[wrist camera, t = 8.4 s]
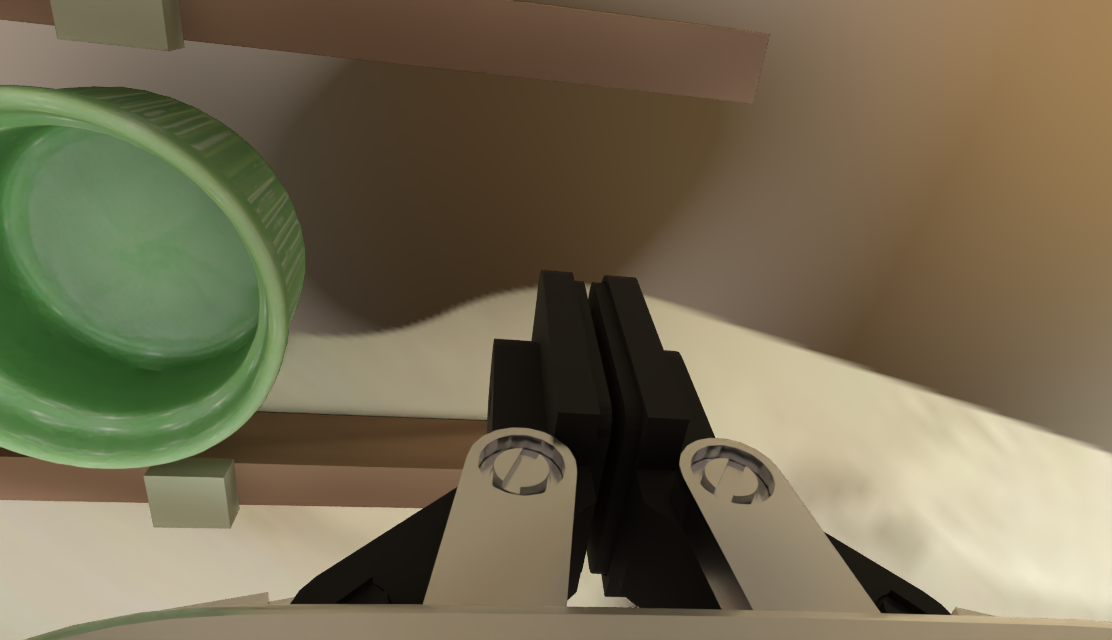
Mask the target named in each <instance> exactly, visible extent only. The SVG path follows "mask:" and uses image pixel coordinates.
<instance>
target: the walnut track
mask: <svg viewBox="0 0 1112 640" xmlns="http://www.w3.org/2000/svg"><path fill="white" fill-rule="evenodd" d="M0 19H1V20H10V21H20V22H28V23H37V24H46V25H54V26H55V28H56V33H57V38H58V39H64V40H73V41H83V42H91V43H100V44H109V45H118V46H127V47H137V48H146V49H155V50H165V51H171V50H175V49H180V48H184V40H189V41H198V42H206V43H215V44H224V45H233V46H242V47H252V48H260V49H269V50H279V51H287V52H297V53H305V54H314V55H323V56H332V57H341V58H350V59H359V60H367V61H378V62H385V63H395V64H403V65H412V66H421V67H431V68H440V69H448V70H457V71H466V72H475V73H484V74H493V75H502V76H512V77H520V78H528V79H538V80H546V81H555V82H565V83H573V84H582V85H591V86H601V87H610V88H618V89H627V90H636V91H645V92H654V93H663V94H672V95H680V96H689V97H700V98H708V99H716V100H725V101H734V102H743V103H752V104H753V103H754V99H755V95H756V91H757V87H758V83H759V78H760V74H761V70H762V65H763V61H764V57H765V53H766V49H767V45H768V41H769V36H770V34H764V33H758V32H752V31H745V30H740V29H733V28H726V27H719V26H710V25H702V24H694V23H687V22H680V21H671V20H664V19H656V18H648V17H641V16H633V15H625V14H617V13H609V12H601V11H593V10H585V9H578V8H570V7H561V6H555V5H546V4H539V3H531V2H523V1H516V0H0ZM486 434H487V421H478V420H452V419H426V418H399V417H373V416H347V415H321V414H295V413H269V412H255V413H254V414H253V416H252V417H251V418H250V419H249V420H248V421H247V422H246V423H245V424H244V425H243V426H241V427H240V428H239V429H238V430H237V431H236V432H234V433H233V434H232V435H230V436H229V437H227V438H226V439H224V440H223V441H221V442H220V443H218V444H216V445H214V446H212V447H210V448H208V449H207V450H205V451H203V452H201V453H198V454H196V455H193V456H190V457H187V458H184V459H181V460H177V461H174V462H170V463H165V464H161V465H155V466H148V467H141V468H126V469H101V468H83V467H76V466H72V465H65V464H58V463H53V462H49V461H45V460H41V459H37V458H34V457H30V456H26V455H23V454H20V453H17V452H14V451H10V450H8V449H5V448H2V447H0V500H33V501H85V502H136V503H149V506H150V511H151V517H152V522H153V527H163V528H231V526H232V524H233V522H234V520H235V517H236V515H237V513H238V511H239V509H240V507H239V505H290V506H342V507H393V508H425V507H426V506H428V505H429V504H431V503H433V502H434V501H436V500H437V499H439V498H440V497H442V496H444V495H445V494H447V493H448V492H450V491H451V490H453V489H455V488H456V487H458V484H459V481H460V477H461V474H462V471H463V467H464V464H465V461H466V457H467V454H468V453H469V451H470V449H471V447H472V445H473V444H474V443H475V442H476V441H478V440H479V439H480V438H481V437H482V436H484V435H486Z"/></svg>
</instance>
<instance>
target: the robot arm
mask: <svg viewBox="0 0 1112 640" xmlns="http://www.w3.org/2000/svg"><path fill="white" fill-rule="evenodd" d="M586 550H587V556H588V563H589V569H590V572H591V573H593V574H601V575H602V581H603V588H604V595H605V597H626V598H628V599H629V600H630V601H631V602H633V603H634V604H635V605H636V606H637V608H616V607H567V600H568V599H570V598H571V597H572V596H573V595H574V594H575V593H576V592H577V588H578V583H579V578H580V573H581V572H582V569H583V564H584V559H585V554H586ZM24 640H1112V622H1106V621H1092V620H1076V619H1048V618H1020V617H998V616H992V615H988V614H983V613H979V612H974V611H970V610H965V609H961V608H956V607H955V609H954V610H953V612H952V614H950V613H949V612H948V611H947V610H946V609H945V608H944V607H943V606H942V605H941V604H940V603H939V602H937V601H936V600H934V599H933V598H932V597H930V596H929V595H928V594H926V593H925V592H923V591H922V590H920V589H918V588H917V587H915V586H913V585H912V584H910V583H908V582H907V581H905V580H903V579H902V578H900V577H898V576H897V575H895V574H893V573H892V572H890V571H888V570H887V569H885V568H883V567H882V566H880V565H878V564H877V563H875V562H873V561H872V560H870V559H868V558H867V557H865V556H863V555H862V554H860V553H858V552H857V551H855V550H853V549H852V548H850V547H848V546H847V545H845V544H843V543H842V542H840V541H838V540H837V539H835V538H833V537H832V536H830V535H828V534H827V533H825V532H823V530H822V529H821V528H820V526H819V525H818V523H817V522H816V520H815V519H814V518H813V516H812V515H811V513H810V512H809V511H808V509H807V508H806V506H805V505H804V503H803V502H802V501H801V499H800V498H799V496H798V495H797V494H796V492H795V491H794V489H793V488H792V486H791V485H790V484H789V482H788V481H787V479H786V478H785V477H784V475H783V474H782V472H781V471H780V470H779V469H778V467H777V466H776V465H775V464H774V463H773V462H772V461H771V460H770V459H769V458H768V457H766V456H765V455H763V454H762V453H761V452H759V451H758V450H756V449H754V448H752V447H750V446H747V445H745V444H743V443H740V442H737V441H733V440H729V439H722V438H715V436H714V433H713V431H712V429H711V426H710V424H709V421H708V419H707V417H706V414H705V412H704V409H703V407H702V404H701V402H700V400H699V397H698V395H697V392H696V390H695V388H694V385H693V383H692V380H691V378H690V375H689V373H688V371H687V368H686V366H685V363H684V361H683V359H682V357H681V355H680V353H679V352H677V351H667V350H663V347H662V344H661V342H660V339H659V337H658V334H657V331H656V329H655V326H654V323H653V321H652V318H651V315H650V313H649V310H648V307H647V305H646V302H645V299H644V297H643V294H642V292H641V289H640V286H639V284H638V281H637V279H636V278H633V277H620V276H608V275H605V276H604V277H603V280H602V283H595V282H592V284H591V287H590V292H589V298H588V297H587V293H586V289H585V284H584V282H582V281H574V277H573V273H571V272H559V271H546V270H541V272H540V278H539V285H538V293H537V301H536V309H535V317H534V325H533V334H532V341H520V340H506V339H494V343H493V352H492V363H491V374H490V386H489V400H488V417H487V434H486V435H484V436H482V437H481V438H480V439H479V440H478V441H476V442H475V443H474V444H473V445H472V447H471V449H470V451H469V453H468V454H467V457H466V461H465V464H464V467H463V471H462V474H461V477H460V481H459V484H458V487H456V488H455V489H453V490H451V491H450V492H448V493H447V494H445V495H444V496H442V497H440V498H439V499H437V500H436V501H434V502H433V503H431V504H429V505H428V506H426V507H425V508H423V509H422V510H420V511H418V512H417V513H415V514H414V515H412V516H411V517H409V518H407V519H406V520H404V521H403V522H401V523H400V524H398V525H396V526H395V527H393V528H392V529H390V530H389V531H387V532H385V533H384V534H382V535H381V536H379V537H378V538H376V539H374V540H373V541H371V542H370V543H368V544H367V545H365V546H363V547H362V548H360V549H359V550H357V551H356V552H354V553H352V554H351V555H349V556H348V557H346V558H345V559H343V560H341V561H340V562H338V563H337V564H335V565H334V566H332V567H330V568H329V569H327V570H326V571H324V572H323V573H321V574H319V575H318V576H316V577H315V578H314V579H313V580H311V581H310V582H309V583H308V584H307V585H305V586H304V587H303V588H302V589H301V590H300V591H299V592H298V593H297V595H296V596H295V597H293V598H288V599H282V600H276V601H270V602H269V595H268V592H266V593H260V594H254V595H248V596H242V597H237V598H231V599H225V600H219V601H213V602H207V603H201V604H195V605H190V606H184V607H178V608H172V609H166V610H160V611H151V612H141V613H135V614H130V615H125V616H119V617H114V618H109V619H103V620H98V621H93V622H87V623H82V624H77V625H73V626H69V627H66V628H62V629H59V630H55V631H52V632H48V633H45V634H42V635H38V636H35V637H31V638H28V639H24Z"/></svg>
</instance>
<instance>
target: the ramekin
mask: <svg viewBox="0 0 1112 640" xmlns="http://www.w3.org/2000/svg"><path fill="white" fill-rule="evenodd" d="M305 265H306V262H305V245H304V240H303V234H302V228H301V225H300V222H299V220H298V217H297V215H296V212H295V209H294V205H293V203H292V201H291V199H290V197H289V195H288V193H287V191H286V189H285V187H284V186H283V185H282V183H281V182H280V180H279V179H278V177H277V175H276V174H275V172H274V171H273V170H272V168H271V167H270V166H269V165H268V164H267V162H266V161H264V159H263V158H262V157H261V156H260V155H259V154H258V153H257V152H256V151H255V149H254V148H253V147H252V146H251V145H249V144H248V143H247V142H246V141H245V140H244V139H243V138H241V137H240V136H239V135H238V134H237V133H235V132H234V131H233V130H231V129H230V128H228V127H227V126H226V125H224V124H223V123H221V122H220V121H218V120H217V119H215V118H213V117H211V116H209V115H208V114H206V113H204V112H202V111H201V110H199V109H196V108H195V107H193V106H190V105H187V104H185V103H182V102H180V101H178V100H176V99H173V98H170V97H166V96H162V95H159V94H155V93H152V92H149V91H145V90H138V89H132V88H125V87H78V88H64V89H51V88H42V87H32V86H18V85H0V447H2V448H5V449H8V450H10V451H14V452H17V453H20V454H23V455H26V456H30V457H34V458H37V459H41V460H45V461H49V462H53V463H58V464H65V465H72V466H76V467H83V468H101V469H126V468H141V467H148V466H155V465H161V464H165V463H170V462H174V461H177V460H181V459H184V458H187V457H190V456H193V455H196V454H198V453H201V452H203V451H205V450H207V449H208V448H210V447H212V446H214V445H216V444H218V443H220V442H221V441H223V440H224V439H226V438H227V437H229V436H230V435H232V434H233V433H234V432H236V431H237V430H238V429H239V428H240V427H241V426H243V425H244V424H245V423H246V422H247V421H248V420H249V419H250V418H251V417H252V416H253V414H254V413H255V412H256V411H257V410H258V408H259V407H260V406H261V405H262V403H263V402H264V400H265V399H266V397H267V395H268V393H269V392H270V390H271V388H272V386H273V384H274V382H275V380H276V378H277V375H278V373H279V370H280V367H281V364H282V361H283V357H284V353H285V349H286V345H287V340H288V333H289V326H290V323H291V321H292V319H293V316H294V314H295V312H296V309H297V306H298V302H299V299H300V294H301V292H302V289H303V284H304V274H305V267H306V266H305Z"/></svg>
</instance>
